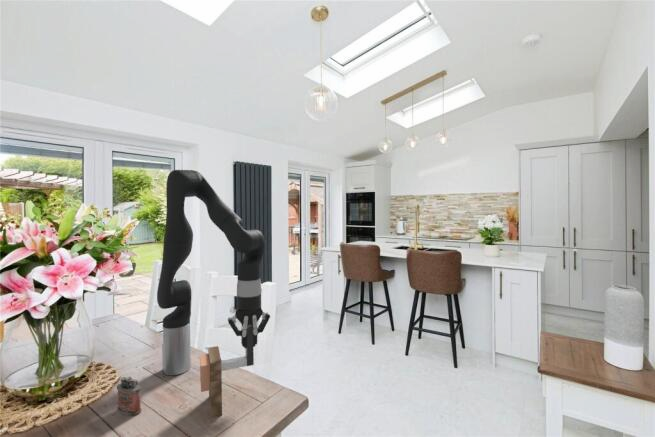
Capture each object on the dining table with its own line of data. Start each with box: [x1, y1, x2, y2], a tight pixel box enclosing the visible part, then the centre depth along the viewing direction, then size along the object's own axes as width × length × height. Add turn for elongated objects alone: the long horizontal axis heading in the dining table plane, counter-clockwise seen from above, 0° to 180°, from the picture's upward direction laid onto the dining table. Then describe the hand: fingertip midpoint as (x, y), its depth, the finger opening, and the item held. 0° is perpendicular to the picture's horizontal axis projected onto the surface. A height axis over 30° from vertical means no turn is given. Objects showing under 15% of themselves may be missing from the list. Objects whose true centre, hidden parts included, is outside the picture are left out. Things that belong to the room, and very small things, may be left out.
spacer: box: [199, 353, 210, 393], centre depth 94 cm, size 2×8×8 cm, turn 24°
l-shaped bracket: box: [221, 325, 255, 372], centre depth 97 cm, size 14×3×12 cm, turn 114°
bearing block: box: [207, 346, 223, 419], centre depth 95 cm, size 3×11×16 cm, turn 24°
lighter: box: [116, 376, 142, 417], centre depth 93 cm, size 8×3×10 cm, turn 70°
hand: (249, 346), depth 99 cm, fingers closed on l-shaped bracket, 2 cm apart
